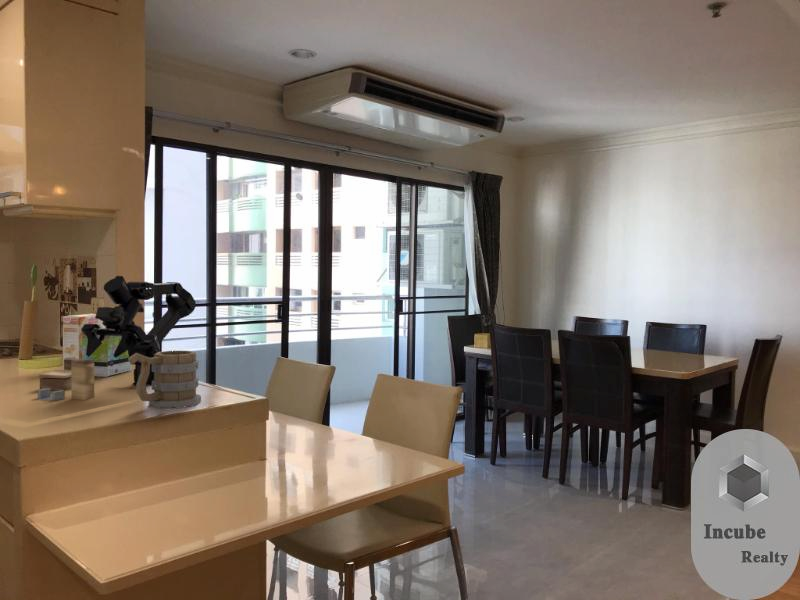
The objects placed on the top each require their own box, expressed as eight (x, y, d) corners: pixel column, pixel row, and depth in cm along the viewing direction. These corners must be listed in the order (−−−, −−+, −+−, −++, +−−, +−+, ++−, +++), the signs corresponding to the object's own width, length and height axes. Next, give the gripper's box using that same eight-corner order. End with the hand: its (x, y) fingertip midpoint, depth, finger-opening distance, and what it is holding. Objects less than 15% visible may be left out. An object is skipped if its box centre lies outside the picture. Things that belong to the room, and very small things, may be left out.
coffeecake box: (79, 371, 229) (79, 316, 228) (61, 370, 230) (61, 315, 229) (106, 365, 243) (106, 313, 242) (90, 364, 245) (89, 313, 244)
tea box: (108, 377, 218) (108, 333, 217) (81, 376, 219) (80, 332, 219) (133, 370, 233) (133, 329, 232) (107, 369, 234) (107, 328, 234)
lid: (66, 370, 202) (66, 358, 202) (91, 371, 201) (91, 359, 201) (39, 377, 189) (39, 364, 189) (65, 378, 188) (65, 365, 188)
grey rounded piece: (53, 398, 182) (53, 387, 182) (70, 401, 179) (70, 389, 179) (31, 402, 176) (31, 390, 176) (48, 405, 173) (48, 393, 173)
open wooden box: (67, 385, 202) (66, 371, 202) (91, 386, 202) (91, 372, 201) (39, 393, 189) (39, 378, 189) (65, 393, 189) (65, 379, 188)
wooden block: (81, 399, 181) (81, 358, 180) (94, 400, 180) (94, 359, 180) (71, 402, 177) (71, 360, 176) (84, 403, 176) (84, 361, 176)
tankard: (183, 396, 187) (183, 345, 186) (208, 403, 179) (208, 349, 178) (115, 407, 171) (115, 351, 171) (140, 415, 163) (140, 355, 163)
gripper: (84, 296, 192) (57, 338, 182) (139, 296, 187) (114, 339, 177) (103, 320, 200) (79, 361, 190) (156, 321, 195) (134, 363, 185)
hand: (100, 356), depth 186 cm, fingers open, 9 cm apart
